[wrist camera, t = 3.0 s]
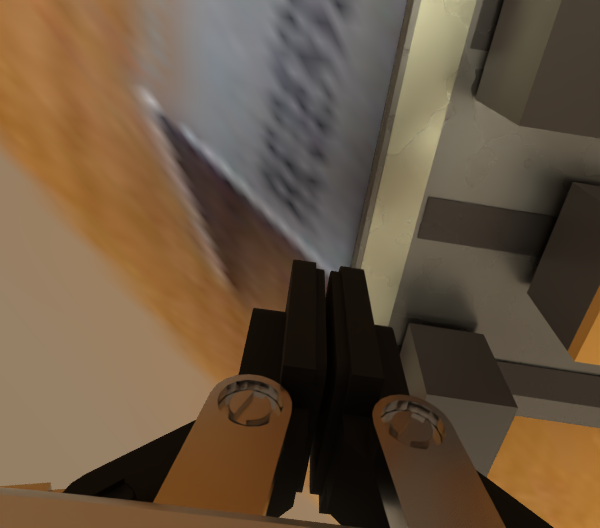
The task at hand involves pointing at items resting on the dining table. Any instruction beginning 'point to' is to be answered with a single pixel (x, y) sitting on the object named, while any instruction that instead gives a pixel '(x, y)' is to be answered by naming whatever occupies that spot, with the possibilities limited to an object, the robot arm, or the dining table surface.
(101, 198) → the dining table surface
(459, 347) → the block
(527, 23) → the breaker
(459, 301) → the panel
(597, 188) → the block
